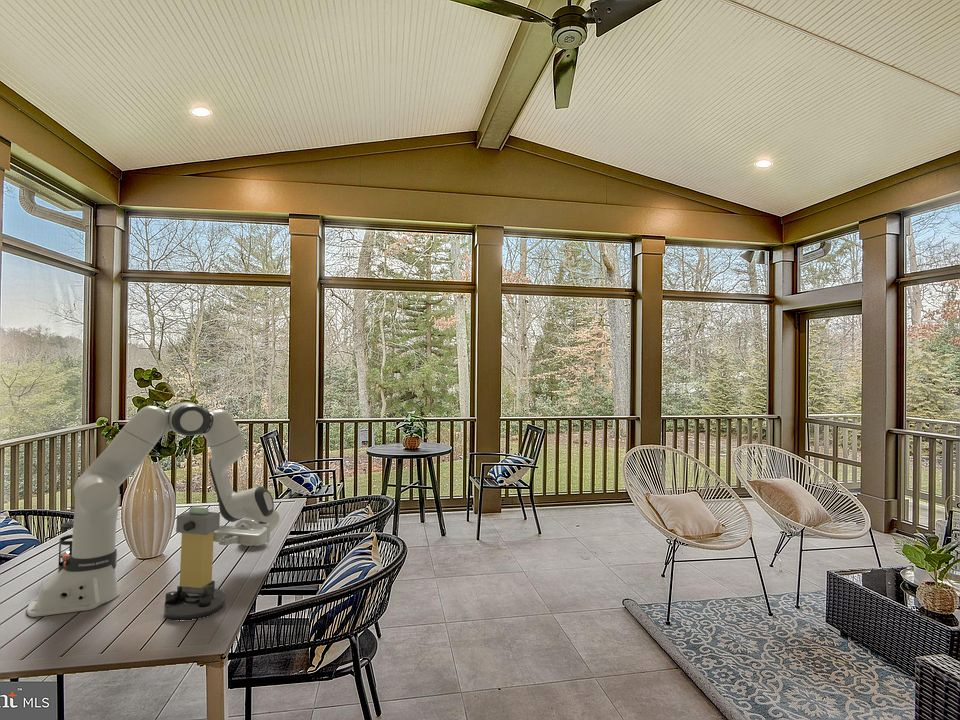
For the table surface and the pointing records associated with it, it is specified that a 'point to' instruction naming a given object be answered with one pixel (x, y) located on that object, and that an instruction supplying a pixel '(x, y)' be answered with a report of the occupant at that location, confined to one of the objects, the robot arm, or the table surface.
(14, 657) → the table surface
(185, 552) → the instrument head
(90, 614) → the table surface
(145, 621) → the table surface
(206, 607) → the levelling base
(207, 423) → the robot arm
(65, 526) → the french press
